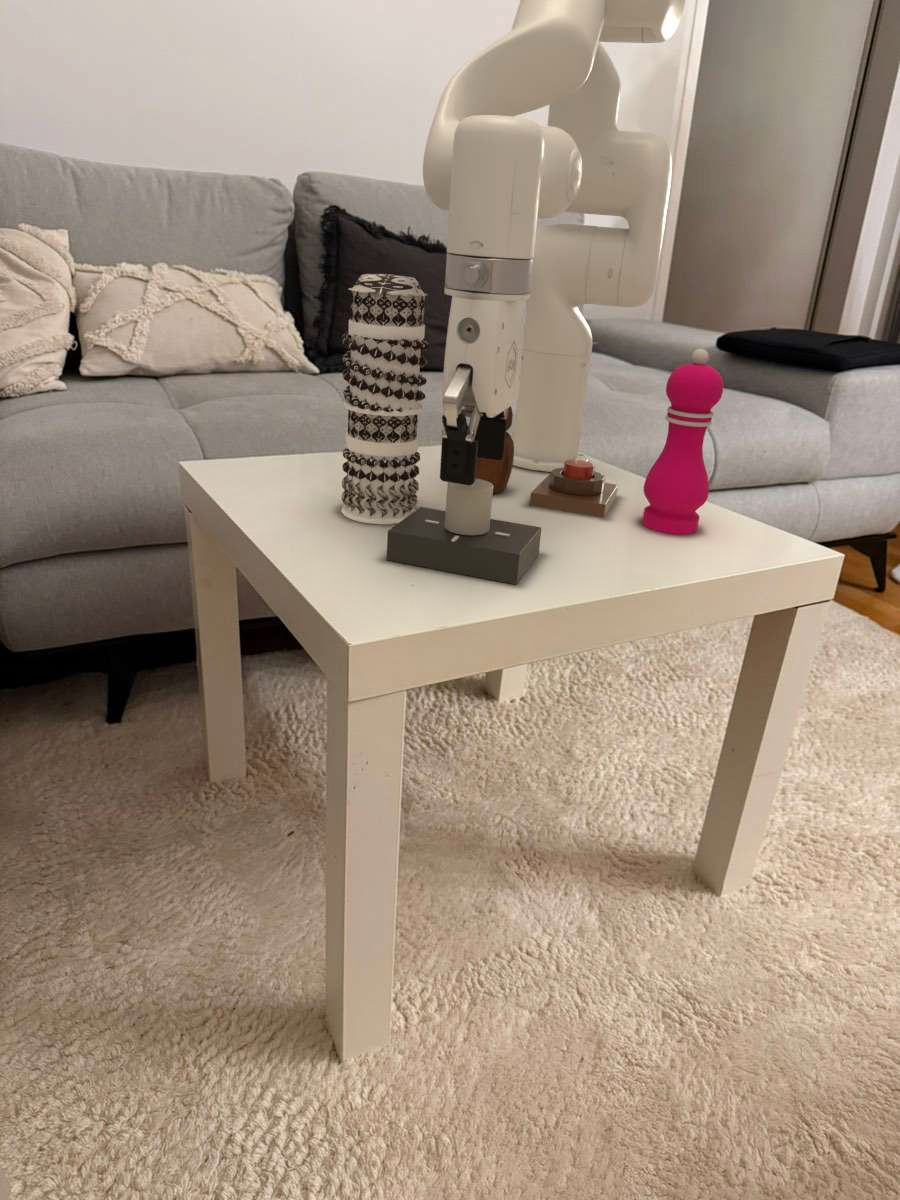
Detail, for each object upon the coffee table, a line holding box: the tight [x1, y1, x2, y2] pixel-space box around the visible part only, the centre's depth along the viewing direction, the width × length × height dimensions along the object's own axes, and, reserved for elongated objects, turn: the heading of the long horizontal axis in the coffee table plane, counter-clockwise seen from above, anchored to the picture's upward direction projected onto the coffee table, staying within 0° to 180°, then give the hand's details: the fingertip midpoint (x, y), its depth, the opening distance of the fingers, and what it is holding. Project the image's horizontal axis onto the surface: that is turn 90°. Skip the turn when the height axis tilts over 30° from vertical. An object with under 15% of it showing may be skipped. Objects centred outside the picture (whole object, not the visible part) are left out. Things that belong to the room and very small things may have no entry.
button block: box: [529, 467, 619, 519], centre depth 105 cm, size 10×9×4 cm
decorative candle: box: [340, 273, 431, 525], centre depth 91 cm, size 9×9×25 cm
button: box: [563, 460, 595, 479], centre depth 104 cm, size 4×4×2 cm
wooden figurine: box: [475, 405, 514, 494], centre depth 105 cm, size 7×6×15 cm
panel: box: [386, 506, 542, 585], centre depth 84 cm, size 9×13×3 cm
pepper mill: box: [641, 348, 724, 536], centre depth 95 cm, size 7×7×20 cm
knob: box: [444, 479, 494, 536], centre depth 82 cm, size 4×4×5 cm
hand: (473, 469), depth 81 cm, fingers open, 9 cm apart
